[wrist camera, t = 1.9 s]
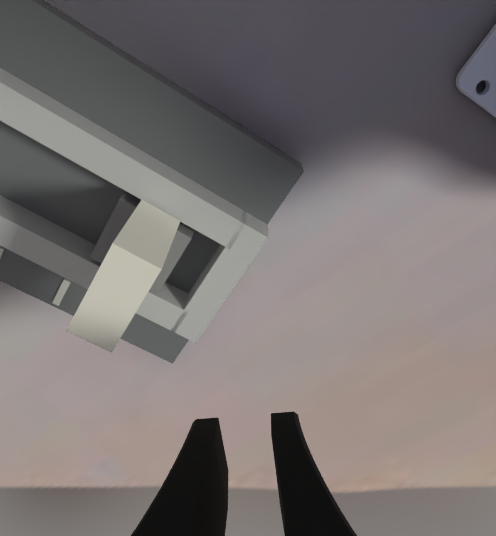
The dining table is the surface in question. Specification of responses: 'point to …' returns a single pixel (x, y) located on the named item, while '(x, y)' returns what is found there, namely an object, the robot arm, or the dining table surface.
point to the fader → (128, 268)
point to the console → (121, 173)
